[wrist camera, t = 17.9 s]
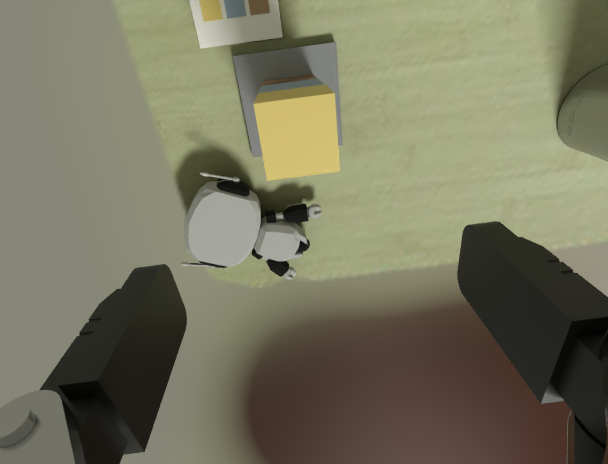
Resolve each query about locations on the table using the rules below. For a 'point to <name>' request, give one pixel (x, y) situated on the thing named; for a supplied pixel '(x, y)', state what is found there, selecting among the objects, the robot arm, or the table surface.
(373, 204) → the table surface
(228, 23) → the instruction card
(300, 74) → the base plate
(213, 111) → the table surface
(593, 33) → the table surface
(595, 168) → the table surface
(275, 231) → the robot toy
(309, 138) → the yellow cube
